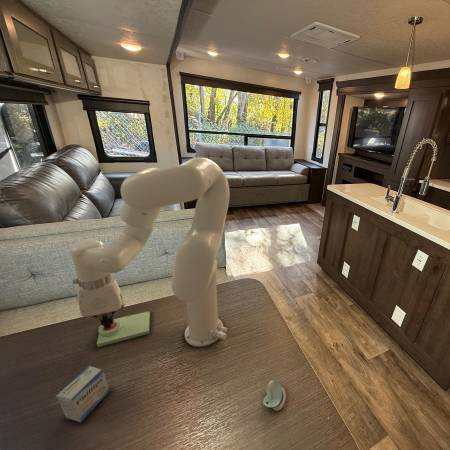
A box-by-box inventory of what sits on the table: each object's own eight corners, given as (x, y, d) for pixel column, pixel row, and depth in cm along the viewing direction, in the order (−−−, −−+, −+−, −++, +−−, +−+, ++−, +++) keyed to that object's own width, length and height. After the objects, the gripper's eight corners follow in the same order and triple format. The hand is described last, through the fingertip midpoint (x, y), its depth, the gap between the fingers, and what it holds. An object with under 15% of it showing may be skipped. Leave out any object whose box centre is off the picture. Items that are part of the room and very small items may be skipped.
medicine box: (80, 423, 59) (70, 400, 56) (65, 418, 60) (54, 395, 56) (110, 391, 66) (103, 369, 63) (96, 386, 67) (88, 364, 63)
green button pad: (149, 314, 92) (148, 307, 91) (149, 333, 84) (147, 327, 83) (103, 324, 86) (101, 318, 84) (97, 347, 78) (95, 340, 76)
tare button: (116, 324, 84) (115, 320, 83) (115, 331, 82) (114, 327, 81) (105, 327, 83) (104, 323, 82) (104, 333, 80) (102, 329, 80)
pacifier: (287, 387, 71) (267, 384, 72) (289, 373, 69) (268, 369, 69) (283, 415, 65) (261, 411, 65) (285, 400, 62) (262, 396, 63)
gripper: (59, 292, 68) (76, 341, 75) (124, 281, 75) (134, 326, 82) (67, 277, 74) (82, 323, 81) (127, 268, 81) (136, 311, 88)
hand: (108, 325), depth 82 cm, fingers closed
